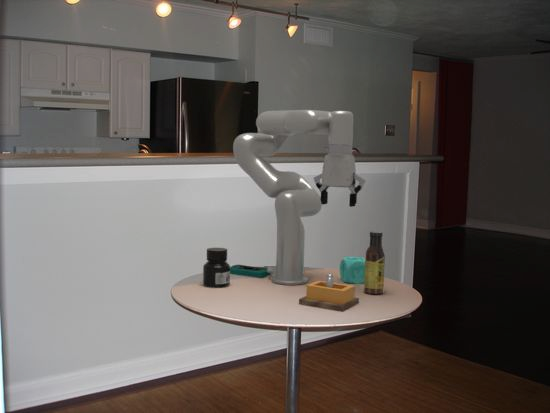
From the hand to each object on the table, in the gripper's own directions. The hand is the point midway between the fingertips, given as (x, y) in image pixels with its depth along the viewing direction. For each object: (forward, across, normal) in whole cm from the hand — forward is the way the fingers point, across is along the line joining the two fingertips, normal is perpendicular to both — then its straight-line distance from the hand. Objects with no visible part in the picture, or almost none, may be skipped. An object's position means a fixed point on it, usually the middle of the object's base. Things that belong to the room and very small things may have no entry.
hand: (338, 205), depth 190 cm
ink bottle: (+28, -37, -13) cm, 49 cm away
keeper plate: (+28, +4, -13) cm, 31 cm away
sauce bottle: (+28, +10, +8) cm, 31 cm away
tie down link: (+27, +4, -13) cm, 30 cm away
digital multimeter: (+29, -38, +8) cm, 48 cm away
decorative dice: (+29, -2, +20) cm, 35 cm away
